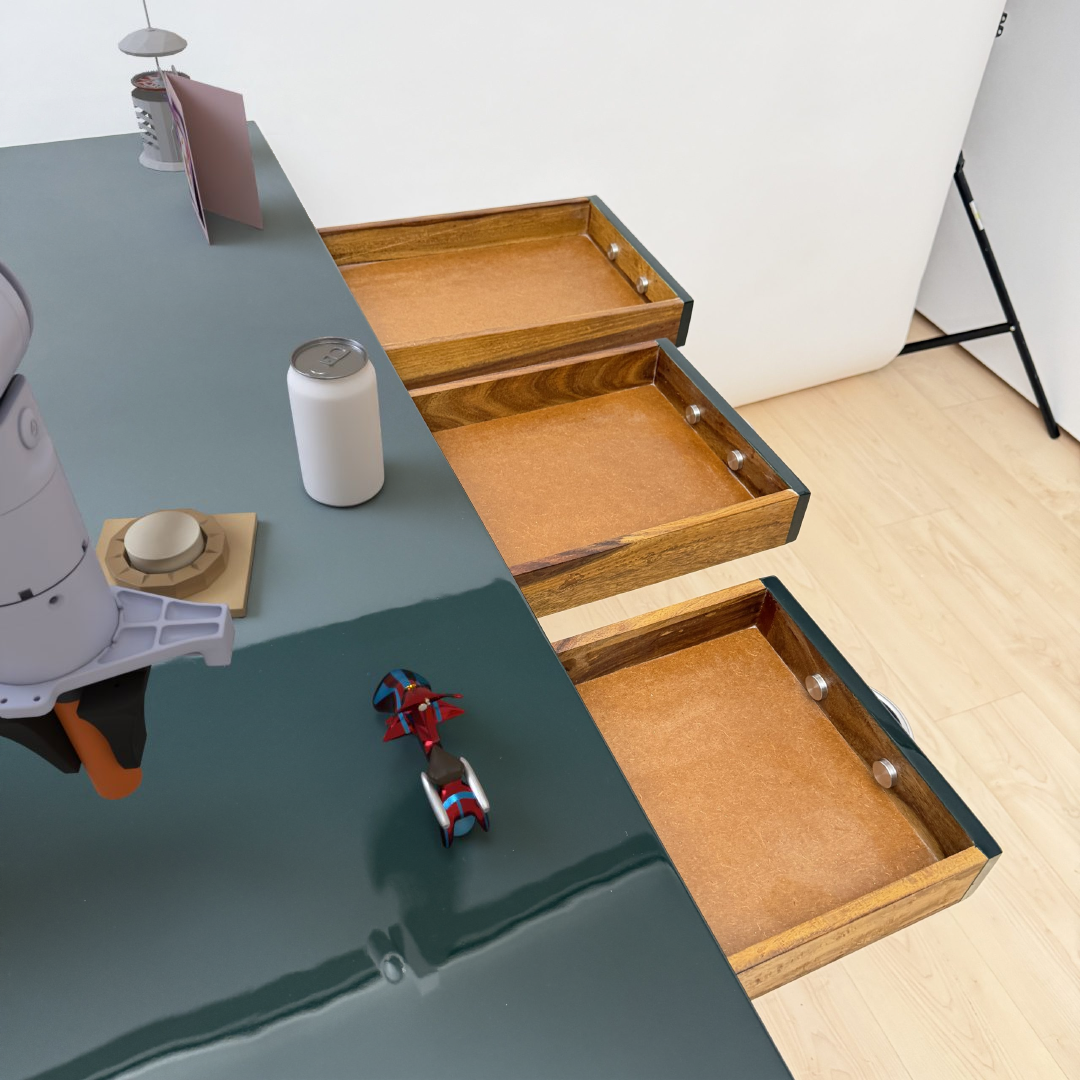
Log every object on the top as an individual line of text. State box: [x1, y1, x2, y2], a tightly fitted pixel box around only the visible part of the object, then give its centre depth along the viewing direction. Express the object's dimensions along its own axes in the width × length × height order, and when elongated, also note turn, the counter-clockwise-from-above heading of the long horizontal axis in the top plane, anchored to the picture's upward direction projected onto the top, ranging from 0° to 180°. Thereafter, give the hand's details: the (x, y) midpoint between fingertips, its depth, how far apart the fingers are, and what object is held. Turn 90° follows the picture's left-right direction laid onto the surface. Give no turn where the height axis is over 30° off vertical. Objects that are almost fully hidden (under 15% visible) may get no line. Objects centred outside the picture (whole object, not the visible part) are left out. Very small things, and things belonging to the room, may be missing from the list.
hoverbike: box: [371, 668, 491, 849], centre depth 52 cm, size 5×12×6 cm, turn 26°
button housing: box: [95, 508, 259, 619], centre depth 64 cm, size 11×10×2 cm
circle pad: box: [124, 511, 204, 574], centre depth 63 cm, size 5×5×2 cm
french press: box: [117, 0, 191, 173], centre depth 111 cm, size 10×12×25 cm
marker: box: [53, 686, 143, 800], centre depth 42 cm, size 2×2×9 cm
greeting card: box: [161, 72, 265, 246], centre depth 101 cm, size 11×7×15 cm, turn 25°
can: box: [286, 336, 385, 508], centre depth 69 cm, size 6×6×12 cm
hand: (105, 753), depth 44 cm, fingers closed on marker, 2 cm apart
